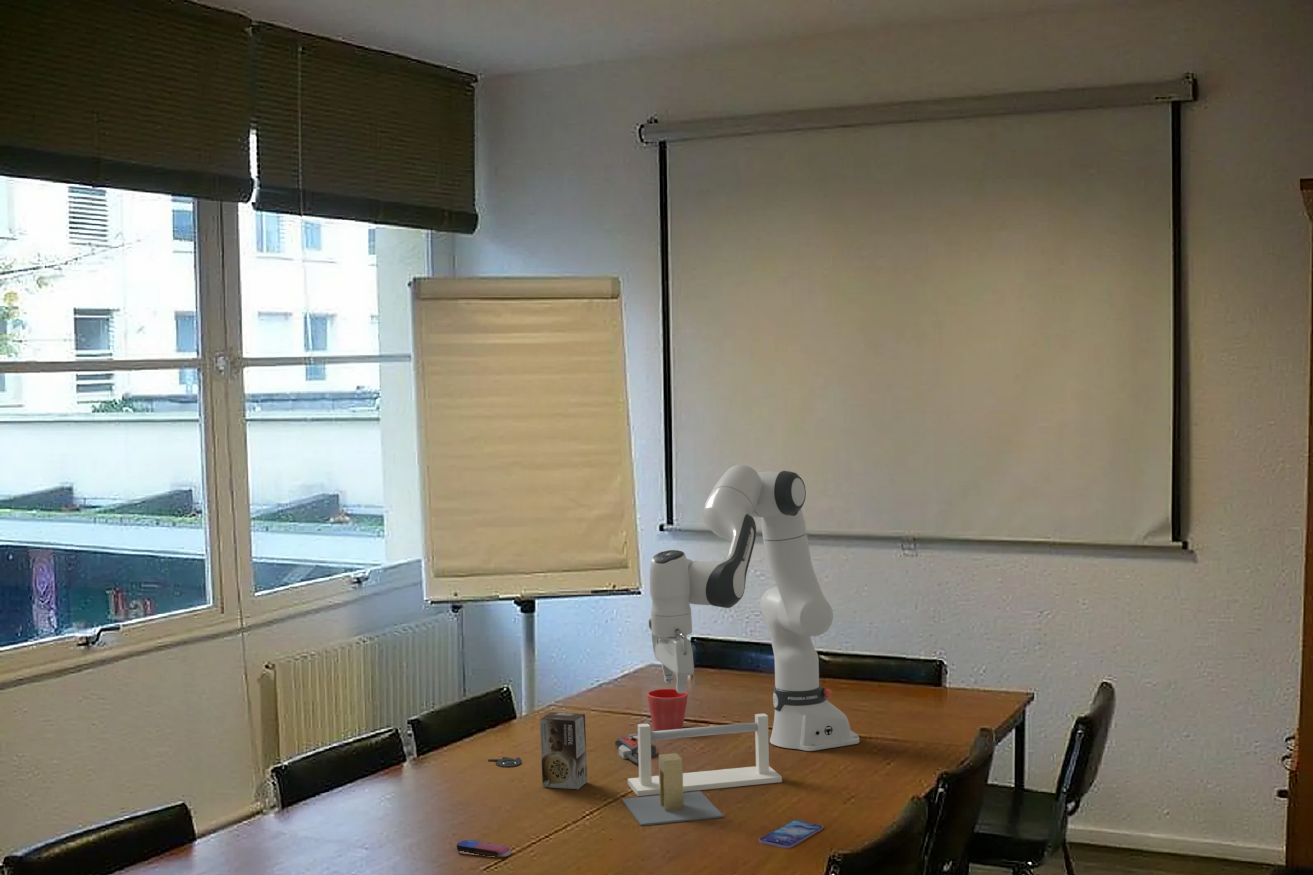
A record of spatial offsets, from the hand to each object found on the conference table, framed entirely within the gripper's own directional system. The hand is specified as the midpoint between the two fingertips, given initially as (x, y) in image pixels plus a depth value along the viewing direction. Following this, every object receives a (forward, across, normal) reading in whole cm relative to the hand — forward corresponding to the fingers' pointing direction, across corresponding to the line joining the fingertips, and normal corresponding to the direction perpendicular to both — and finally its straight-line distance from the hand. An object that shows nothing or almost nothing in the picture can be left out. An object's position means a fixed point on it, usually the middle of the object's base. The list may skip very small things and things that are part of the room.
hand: (674, 687), depth 313 cm
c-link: (+25, -5, +3) cm, 25 cm away
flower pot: (+26, +60, -14) cm, 67 cm away
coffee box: (+25, +20, +22) cm, 39 cm away
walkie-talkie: (+26, +39, 0) cm, 47 cm away
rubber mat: (+25, -5, +3) cm, 26 cm away
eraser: (+24, -19, +46) cm, 56 cm away
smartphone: (+26, -29, -15) cm, 42 cm away
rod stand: (+26, +11, -9) cm, 29 cm away
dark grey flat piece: (+25, +46, +34) cm, 62 cm away
